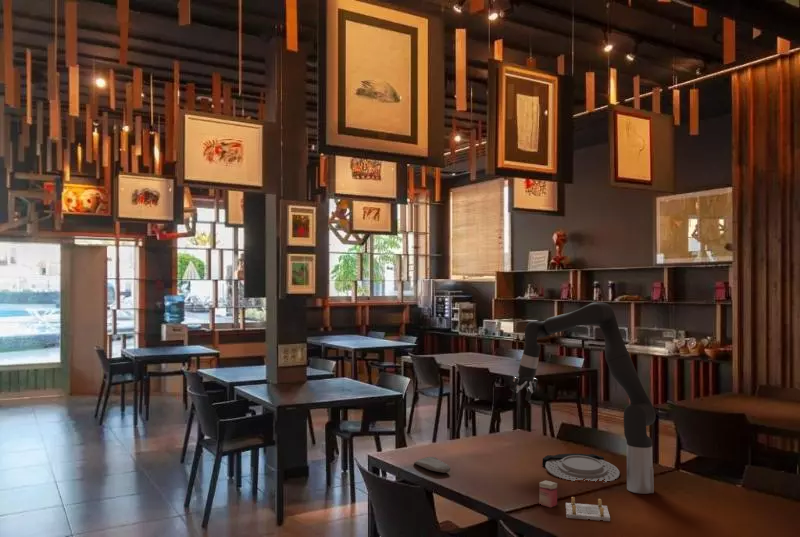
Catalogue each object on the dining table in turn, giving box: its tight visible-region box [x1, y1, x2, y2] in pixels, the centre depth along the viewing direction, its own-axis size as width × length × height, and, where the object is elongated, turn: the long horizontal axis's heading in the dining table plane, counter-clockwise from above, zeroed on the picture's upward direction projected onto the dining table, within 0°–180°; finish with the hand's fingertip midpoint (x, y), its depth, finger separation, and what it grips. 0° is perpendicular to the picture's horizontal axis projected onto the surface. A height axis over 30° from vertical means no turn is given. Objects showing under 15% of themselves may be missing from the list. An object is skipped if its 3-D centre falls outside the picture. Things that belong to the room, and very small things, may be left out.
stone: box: [413, 456, 451, 474], centre depth 276 cm, size 24×4×10 cm
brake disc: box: [541, 453, 621, 483], centre depth 273 cm, size 32×30×5 cm
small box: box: [538, 480, 558, 508], centre depth 231 cm, size 5×4×8 cm
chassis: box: [565, 496, 611, 522], centre depth 222 cm, size 14×12×4 cm
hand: (520, 400), depth 288 cm, fingers open, 8 cm apart
